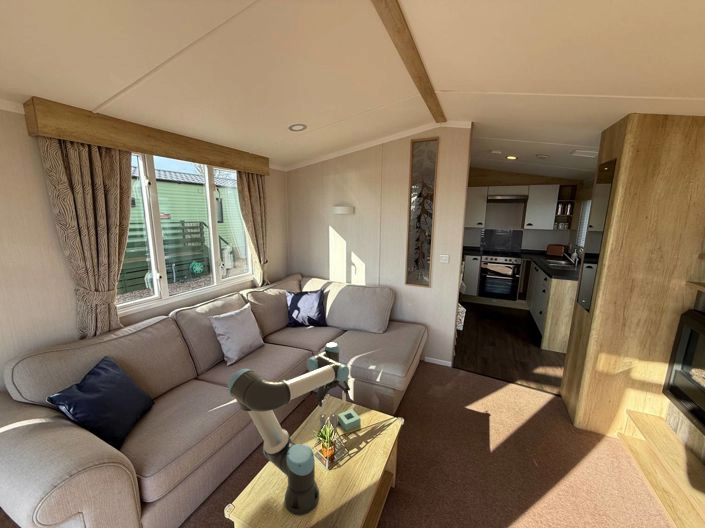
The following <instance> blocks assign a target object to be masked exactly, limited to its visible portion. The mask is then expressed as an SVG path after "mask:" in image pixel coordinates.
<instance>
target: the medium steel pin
mask: <svg viewBox="0 0 705 528" xmlns="http://www.w3.org/2000/svg"><path fill="white" fill-rule="evenodd" d="M324 425H325V426H326V414H324V413H321V414H319V431H320V430H321V429H322V428H323V426H324Z"/></svg>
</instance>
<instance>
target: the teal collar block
mask: <svg viewBox="0 0 705 528" xmlns="http://www.w3.org/2000/svg"><path fill="white" fill-rule="evenodd" d="M361 422H362V421H361V417H360V416H359V415H358V413H356V412H355V411H354V409H353V408H350V409H348V410H346V411H342V412H340V413H338V414H337V423H338V424H340V426H341V427H342V429H344V431H345V432H348V431H350V430H352V429H354V428H356V427H359V426H361V424H362V423H361Z"/></svg>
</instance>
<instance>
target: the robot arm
mask: <svg viewBox="0 0 705 528" xmlns="http://www.w3.org/2000/svg"><path fill="white" fill-rule="evenodd" d="M306 368H307V370H308V371H309V372H306V373H303V374H301V375H300V374H299V375H297V376H295V377H293V378H289V379H287V380H285V379H279V380H277V381H271V380H268V379H266V378H265V377H263V376H261V375H259V374H258V373H256V372H255V371H254V370H253V369H249V368H242V369H239V370H238V371H236V372H234V374H232V376H231V378H230V379H229V382H228V383H227V391H228V393H229V394H230V396H231V397H233V398H234V399H235V400H236V402H237V403H238V405H239V407H240V409H241V410H242V411H244V412H247V413H248V415H249V417H250V418H251V420H252V422H253V424H254V426H255V427H256V429H257V431H258V432H259V434H260V437H261V438H262V440H263V446H262V449H263V450H262V452H263V455H264V456H265V458H266V459H267V460H268V461H269V462H271V464H273V465H274V466H275V467H277V468H278V469H279V470H280V471H281V472H282V473H283V474H284V475H285V476H286V477H287V487H286V491H285V494H284V506H285V508H286V510H287V511H288V512H289V513H290V514H293V515H295V516H304V515H306V514H309V513H311V512H312V511H313V510H314V509H315V508H316V506H317V505H318V503H319V500H320V490H319V486H318V485H317V484H318V483H317V482H316V479H315V477H316V476H315V473H316V472H315V463H316V462H315V461H316V460H315V455H314V450H313V449H312V448H311V447H310V446H309V445H308V444H305V443H302V444H301V443H295V442H294V440H292V438H291V437H290V435H289V433H288V431H287V430H286V429H284V428H282V427H281V424H280V423H279V421H278V419H277V416H276V415H275V412H274V411H273V410H278V409H279V408H283V407H285V406H287V405H289V404H290V403H291V400H294V399H296V398H298V397H300V396H303V395H305V394H307V393H310V392H312V391H314V390H316V389H317V393H316V395H315V398H314V400H315V401H316V402H317V403H318V406H319V408H320V412H322V413H321V414H324V412H325V410H324V409H325V406H324V404H325V403H324V398H325V397H326V395H327V394H328V392H329V391H330V390H331V389H334V388H337V387H339V388H340V389H341V390H342V393H341V394H342V395H341V397H342V399H341V400H342V403H343V404H344V405H346V404H347V398H348V393H349V391H351V387H350V386H349V384H348V383H347V380H348V378H349V376H350V367H348V365H346V364H344V362H343V363H342V362H340V345H339V343H336V342H328V343H326V344H324V349H323V350H322V351H321V352H318V353H317V354H314V355H312V356H311V357H309V358H307V360H306ZM340 382H342V383H343V385H344V386H345V387H344V386H343V385H342V384H340Z"/></svg>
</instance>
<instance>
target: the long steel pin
mask: <svg viewBox="0 0 705 528" xmlns="http://www.w3.org/2000/svg"><path fill="white" fill-rule="evenodd" d="M336 415H337V414H336V413H331V414H330V415H329V416H330V417H329V419H330V425H331V424H332V426H333V428H334V435H335V433H336V434H337V425H336Z"/></svg>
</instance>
